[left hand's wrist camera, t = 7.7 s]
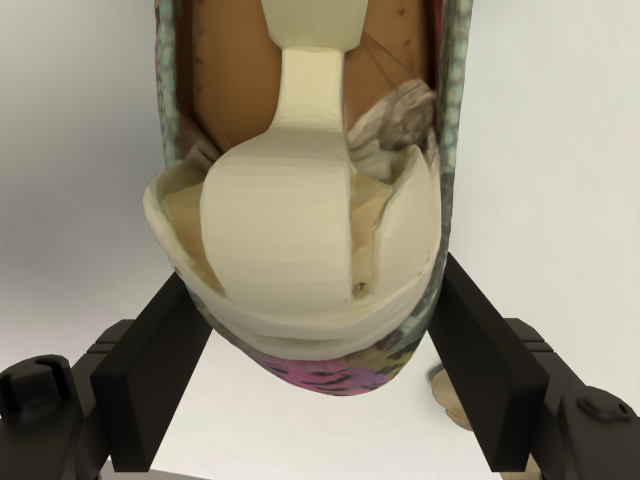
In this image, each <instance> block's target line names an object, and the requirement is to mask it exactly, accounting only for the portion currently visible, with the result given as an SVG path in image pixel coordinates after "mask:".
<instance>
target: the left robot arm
mask: <svg viewBox="0 0 640 480" xmlns="http://www.w3.org/2000/svg"><path fill="white" fill-rule="evenodd" d="M212 330H213V327H212V326H211V325H210V324H209V323H208V322H207V320H206V319H205V318H204V317H203V315H202V314H201V313H200V312H199V310H198V309H197V307H196V305H195V304H194V302H193V300H192V299H191V296H190V294H189V292H188V290H187V288H186V285H185V283H184V281H183V280H182V279H181V278H180V277H179V275H178V274H177V273H176V271H175V272H174V273H173V274H172V275H171V276H170V278H169V279H168V280H167V281H166V283H165V284H164V285H163V286H162V288H161V289H160V290H159V291H158V292H157V294H156V295H155V296H154V297H153V299H152V300H151V301H150V302H149V303H148V305H147V306H146V307H145V308H144V310H143V311H142V312H141V313H140V315H139V316H138V317H137V318H136V319H122V320H121V321H119V322H118V323H116V324H114V325H113V326H111V327H110V328H108V329H106V330H105V331H104V333H103V334H102V335H101V336H100V337H99V338H98V339H97V340H96V341H95V342H96V343H95V344H93V345H92V346H91V347H90V348H89V349H88V350H87V353H86V354H84V355H83V356H82V357H81V358H80V359H79V360H78V361H77V362H76V364H75V365H74V366H73V367H72V368H70V365H69V361H68V360H67V359H66V358H64V357H63V356H60V355H53V354H50V355H42V356H36V357H33V358H30V359H26V360H23V361H21V362H19V363H17V364H15V365H12V366H10V367H8V368H7V369H6V370H4V371H3V372H1V373H0V415H1V419H0V480H102V477H101V473H100V470H101V469H102V467H103V465H104V463H105V462H106V460H107V458H108V457H109V455H110V456H111V460H112V464H113V468H114V471H115V472H148V471H149V469H150V466H151V464H152V462H153V460H154V458H155V455H156V453H157V451H158V449H159V446H160V444H161V442H162V440H163V438H164V435H165V433H166V431H167V429H168V427H169V424H170V422H171V420H172V418H173V416H174V413H175V411H176V409H177V407H178V405H179V402H180V400H181V398H182V396H183V394H184V391H185V389H186V387H187V385H188V383H189V380H190V378H191V376H192V374H193V372H194V369H195V367H196V365H197V363H198V360H199V358H200V356H201V354H202V352H203V349H204V347H205V345H206V343H207V341H208V338H209V336H210V334H211V332H212ZM427 330H428V332H429V335H430V337H431V339H432V341H433V343H434V346H435V348H436V350H437V352H438V354H439V357H440V359H441V361H442V363H443V366H444V368H445V370H446V372H447V374H448V377H449V379H450V381H451V383H452V385H453V388H454V390H455V392H456V394H457V396H458V399H459V401H460V403H461V405H462V407H463V410H464V412H465V414H466V416H467V418H468V421H469V423H470V425H471V427H472V429H473V432H474V434H475V436H476V438H477V440H478V443H479V445H480V447H481V449H482V452H483V454H484V456H485V458H486V460H487V463H488V465H489V467H490V469H491V471H492V472H525V470H526V466H527V463H528V459H529V455H530V453H531V455H532V457H533V459H534V460H535V462H536V464H537V465H538V467H539V469H540V473H539V476H538V480H640V417H638V416H637V415H636V413H635V412H634V411H633V409H632V408H631V407H630V406H629V405H627V404H626V403H625V402H624V401H622V400H621V399H620V398H618V397H616V396H614V395H612V394H611V393H609V392H607V391H604V390H601V389H598V388H595V387H592V386H586V385H585V384H584V383H583V382H582V381H581V380H580V379H579V377H578V376H577V375H576V374H575V373H574V372H573V371H572V370H571V369H570V368H569V366H568V365H567V364H566V363H565V362H564V361H563V360H562V359H561V358H560V357H559V355H558V354H557V353H556V352H554V351H553V349H552V348H551V347H550V346H549V344H548V343H547V342H545V340H544V339H543V338H542V337H541V336H540V335H539V333H538V332H537V331H536V330H535V329H534V328H532V327H531V326H529V325H528V324H526V323H524V322H523V321H521V320H520V319H518V318H503V317H502V316H501V315H500V314H499V312H498V311H497V310H496V309H495V308H494V306H493V305H492V304H491V303H490V301H489V300H488V299H487V298H486V296H485V295H484V294H483V293H482V292H481V290H480V289H479V288H478V287H477V285H476V284H475V283H474V282H473V281H472V279H471V278H470V277H469V276H468V274H467V273H466V272H465V271H464V269H463V268H462V267H461V266H460V265H459V263H458V262H457V261H456V260H455V258H454V257H453V256H452V255H451V253H450V252H447V259H446V265H445V269H444V274H443V283H442V289H441V293H440V296H439V299H438V302H437V305H436V308H435V311H434V313H433V316H432V318H431V321H430V323H429V326H428V328H427Z"/></svg>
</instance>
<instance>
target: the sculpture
mask: <svg viewBox="0 0 640 480" xmlns="http://www.w3.org/2000/svg"><path fill="white" fill-rule="evenodd" d="M432 392H433V395H434V397H435V399H436V401H437V402H438V403H439V404H440V405H442V406H443V407H445V408H446V414H447V415H448V416H449V417H450V418H451V419H452V421H453V422H454V423H456V424H457V425H458V426H460V427H462V428H464V429H466V430H469V431H473V429H472V427H471V425H470V423H469V421H468V418H467V416H466V414H465V412H464V410H463V407H462V405H461V403H460V401H459V399H458V396H457V394H456V392H455V390H454V388H453V385H452V383H451V381H450V379H449V377H448V374H447V372H446V370H445V368H444V369H443V370H441V371H440V372H439V373H437V374H436V375H435V376H434V378H433V380H432ZM539 473H540V469H539V467H538V465H537V464H536V462H535V460H534V459H533V457H532V455H531V453H530V455H529V459H528V463H527V466H526V470H525V472H500V474H501V477H502V479H503V480H538V476H539Z"/></svg>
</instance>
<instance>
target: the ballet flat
mask: <svg viewBox="0 0 640 480" xmlns="http://www.w3.org/2000/svg"><path fill="white" fill-rule="evenodd" d="M472 5H473V0H155V15H156V47H155V59H156V81H157V97H158V110H159V117H160V125H161V132H162V140H163V148H164V155H165V163H166V168H165V169H164V170H162V171H161V172H160V173H158V174H157V175H155V176H154V177H153V178H152V179H151V181H150V182H149V184H148V185H147V187H146V189H145V192H144V197H143V210H144V213H145V216H146V219H147V222H148V224H149V226H150V228H151V230H152V232H153V234H154V235H155V237H156V239H157V241H158V243H159V244H160V245H161V247H162V248H163V250H164V251H165V252H166V254H167V255H168V259H169V262H170V264H171V266H172V267H173V269H174V270H175V271H176V273H177V274H178V275H179V277H180V278H181V279H182V280H183V281H184V283H185V285H186V288H187V290H188V292H189V294H190V296H191V299H192V300H193V302H194V304H195V305H196V307H197V309H198V310H199V312H200V313H201V314H202V315H203V317H204V318H205V319H206V320H207V322H208V323H209V324H210V325H211V326H212V327H213V328H214V329H215V330H216V331H217V332H218V333H219V334H220V335H221V336H222V337H224V338H225V339H227V340H228V341H229V342H230V343H231V344H233V345H234V346H236V347H238V348H239V349H241V350H242V351H243V352H244V353H245V354H246V355H248V356H249V357H250V358H252V359H253V360H254V361H255V362H257V363H258V364H259V365H260V366H262V367H263V368H264V369H266V370H267V371H269V372H271V373H272V374H274V375H275V376H277V377H279V378H280V379H282V380H284V381H286V382H287V383H290V384H292V385H294V386H297V387H301V388H304V389H308V390H311V391H315V392H318V393H322V394H327V395H333V396H353V395H358V394H363V393H367V392H370V391H373V390H375V389H377V388H379V387H381V386H383V385H385V384H386V383H388V382H389V381H390V380H392V379H393V378H394V377H395V376H396V375H397V374H398V373H399V372H400V370H401V369H402V368H403V367H404V366H405V365H406V364H407V362H408V361H409V360H410V358H411V357H412V355H413V354H414V352H415V350H416V349H417V347H418V345H419V343H420V342H421V340H422V338H423V336H424V334H425V332H426V330H427V328H428V326H429V323H430V321H431V318H432V316H433V313H434V311H435V308H436V305H437V302H438V299H439V296H440V293H441V289H442V283H443V274H444V269H445V265H446V259H447V252H448V244H449V237H450V232H451V217H452V205H453V185H454V177H455V165H456V147H457V140H458V130H459V119H460V109H461V102H462V96H463V89H464V80H465V60H466V54H467V48H468V37H469V29H470V23H471V13H472Z"/></svg>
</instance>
